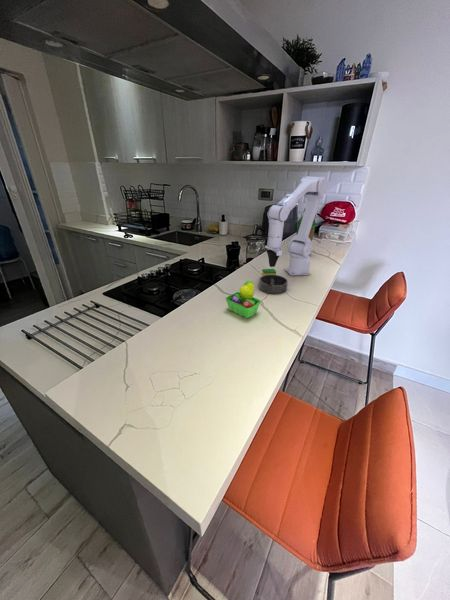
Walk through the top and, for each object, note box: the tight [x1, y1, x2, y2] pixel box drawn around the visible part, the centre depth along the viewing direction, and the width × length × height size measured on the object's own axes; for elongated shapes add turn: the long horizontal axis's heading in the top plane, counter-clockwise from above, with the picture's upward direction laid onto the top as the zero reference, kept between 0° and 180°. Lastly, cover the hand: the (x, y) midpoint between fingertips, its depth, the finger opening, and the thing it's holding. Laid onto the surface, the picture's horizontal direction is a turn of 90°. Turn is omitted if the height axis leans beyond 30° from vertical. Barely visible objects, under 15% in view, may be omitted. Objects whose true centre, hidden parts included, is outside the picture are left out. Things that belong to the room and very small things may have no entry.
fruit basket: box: [225, 280, 262, 319], centre depth 93 cm, size 11×9×11 cm
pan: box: [258, 274, 289, 295], centre depth 113 cm, size 12×12×4 cm
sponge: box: [261, 268, 277, 277], centre depth 121 cm, size 4×6×4 cm
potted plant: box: [295, 208, 317, 243], centre depth 149 cm, size 11×11×28 cm
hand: (272, 266), depth 114 cm, fingers closed
